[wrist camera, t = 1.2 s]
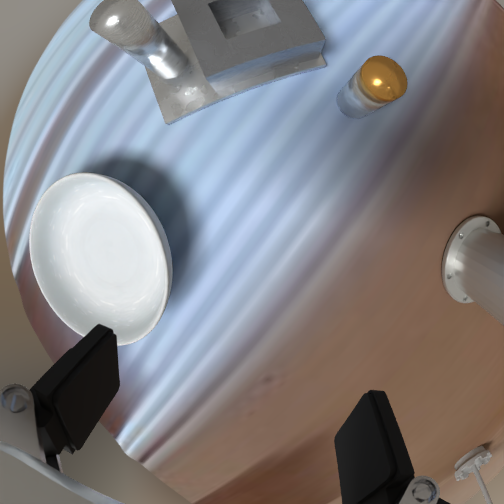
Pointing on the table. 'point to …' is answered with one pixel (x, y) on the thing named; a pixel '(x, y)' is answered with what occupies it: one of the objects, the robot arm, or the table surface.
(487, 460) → the flag stand
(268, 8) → the grey block stand
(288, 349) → the table surface
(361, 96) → the gold and grey cylinder
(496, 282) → the robot arm
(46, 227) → the serving bowl
